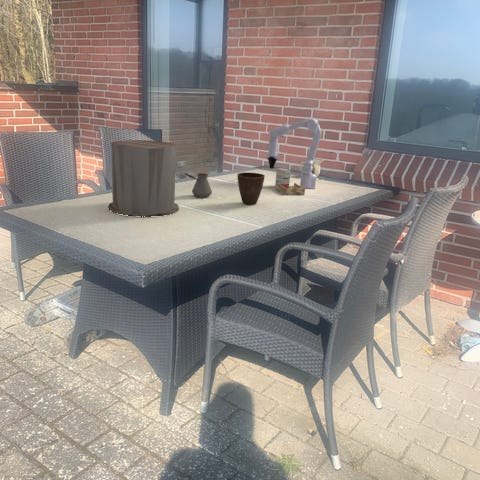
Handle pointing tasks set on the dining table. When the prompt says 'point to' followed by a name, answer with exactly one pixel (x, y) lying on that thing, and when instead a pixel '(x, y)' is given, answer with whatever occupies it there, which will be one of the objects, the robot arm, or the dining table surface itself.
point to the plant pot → (250, 187)
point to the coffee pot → (201, 186)
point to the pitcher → (314, 166)
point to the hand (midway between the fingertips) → (271, 168)
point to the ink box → (283, 177)
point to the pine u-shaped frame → (291, 190)
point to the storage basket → (143, 178)
